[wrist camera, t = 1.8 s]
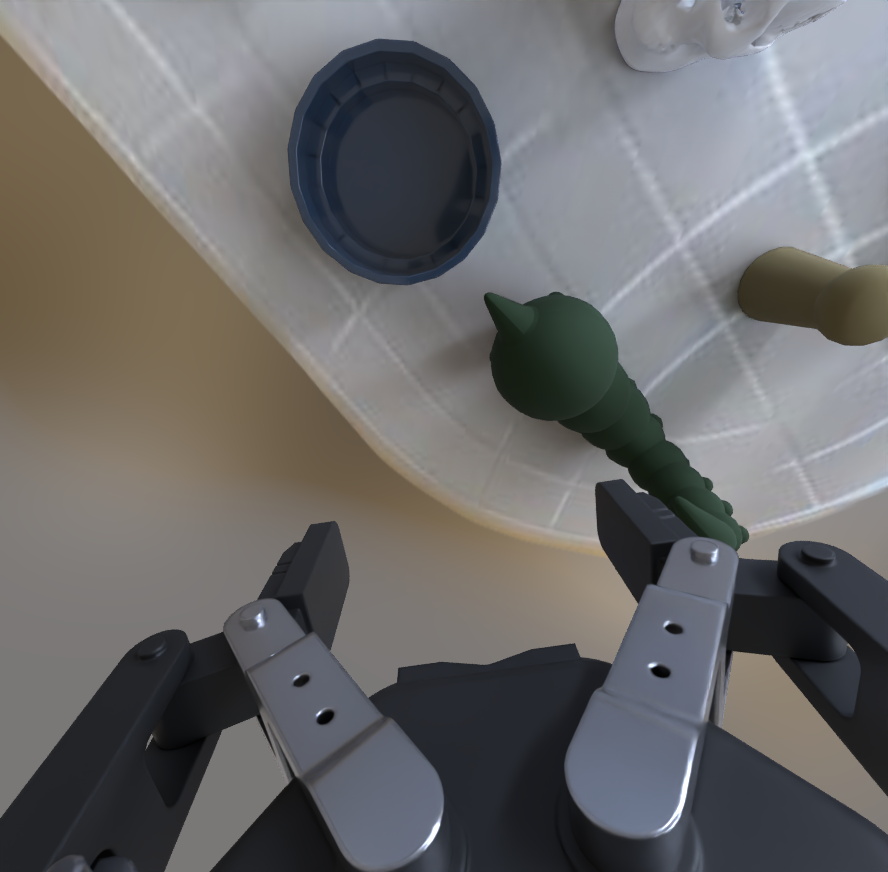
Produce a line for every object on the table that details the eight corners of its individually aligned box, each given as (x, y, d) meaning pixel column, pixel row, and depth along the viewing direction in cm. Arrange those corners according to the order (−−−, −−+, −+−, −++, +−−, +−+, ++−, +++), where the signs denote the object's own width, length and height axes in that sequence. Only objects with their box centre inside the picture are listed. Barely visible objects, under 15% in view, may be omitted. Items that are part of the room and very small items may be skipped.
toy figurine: (680, 412, 46) (514, 225, 37) (826, 547, 30) (593, 270, 20) (604, 471, 49) (434, 312, 40) (698, 621, 33) (445, 412, 23)
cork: (757, 241, 37) (866, 253, 27) (827, 253, 38) (960, 269, 28) (725, 315, 40) (814, 350, 30) (791, 326, 40) (901, 364, 30)
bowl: (338, 27, 32) (317, -7, 27) (524, 116, 34) (536, 100, 29) (292, 235, 38) (268, 239, 33) (453, 300, 40) (453, 313, 35)
